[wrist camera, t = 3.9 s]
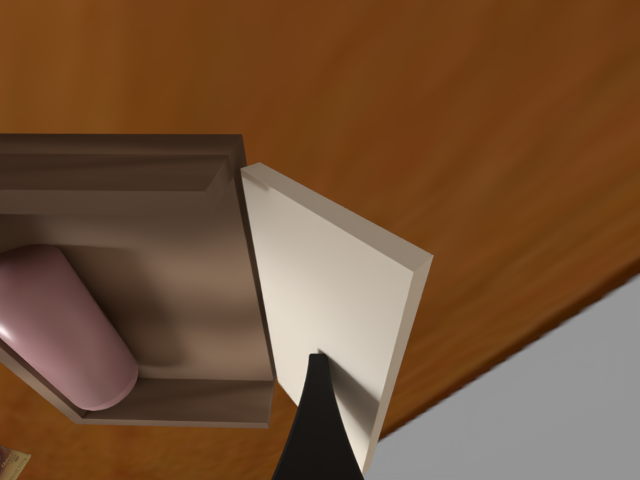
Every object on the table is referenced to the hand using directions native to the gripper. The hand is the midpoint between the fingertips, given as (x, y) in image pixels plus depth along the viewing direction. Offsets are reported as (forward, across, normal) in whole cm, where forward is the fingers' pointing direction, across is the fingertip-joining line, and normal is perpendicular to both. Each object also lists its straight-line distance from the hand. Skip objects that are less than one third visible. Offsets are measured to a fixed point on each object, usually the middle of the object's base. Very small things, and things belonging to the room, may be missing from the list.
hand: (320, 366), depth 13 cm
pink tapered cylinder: (+3, -12, 0) cm, 12 cm away
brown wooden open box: (+5, -9, 0) cm, 10 cm away
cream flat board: (+3, -3, 0) cm, 4 cm away
